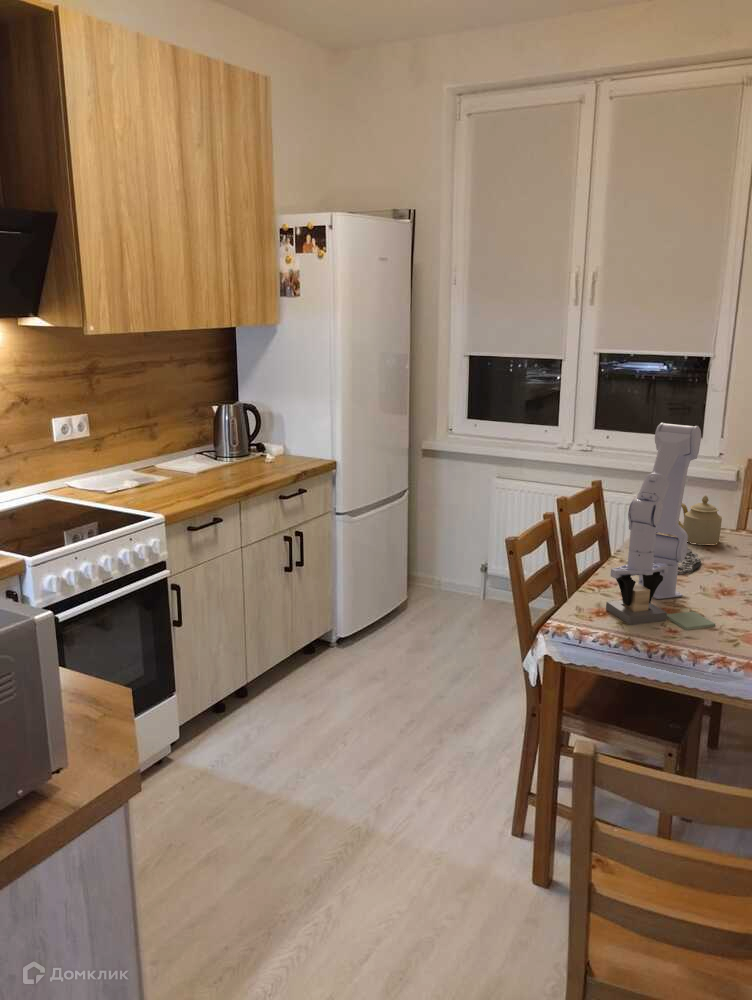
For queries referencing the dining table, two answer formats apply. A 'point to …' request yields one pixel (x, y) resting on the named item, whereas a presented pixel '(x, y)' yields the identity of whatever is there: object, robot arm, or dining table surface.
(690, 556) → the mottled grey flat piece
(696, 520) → the olive yellow teapot
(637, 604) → the beech block
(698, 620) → the green mat
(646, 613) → the pocket plate
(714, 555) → the dining table surface
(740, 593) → the dining table surface
